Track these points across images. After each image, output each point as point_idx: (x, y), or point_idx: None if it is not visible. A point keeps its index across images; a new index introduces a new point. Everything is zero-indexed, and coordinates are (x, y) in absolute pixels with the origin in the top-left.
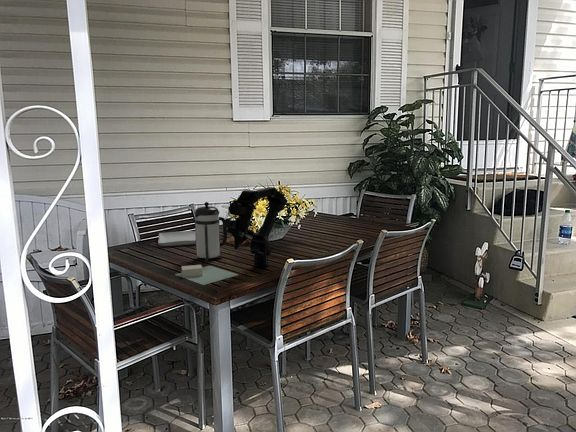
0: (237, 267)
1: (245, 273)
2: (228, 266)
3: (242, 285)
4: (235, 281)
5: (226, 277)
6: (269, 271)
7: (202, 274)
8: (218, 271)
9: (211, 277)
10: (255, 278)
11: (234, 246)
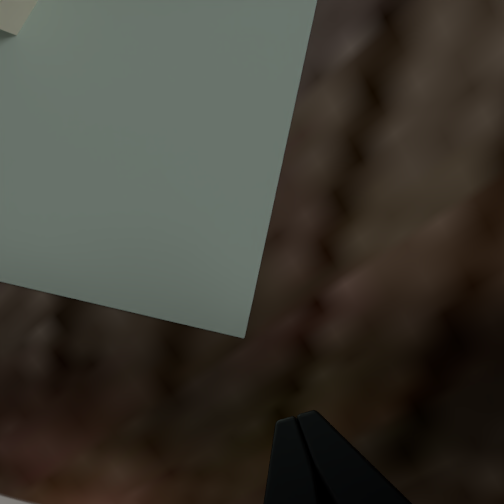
0: (492, 144)
1: (336, 344)
2: (485, 13)
3: (71, 481)
4: (108, 392)
5: (114, 290)
6: (496, 492)
7: (6, 31)
8: (217, 85)
9: (28, 167)
10: (259, 483)
11: (269, 471)
